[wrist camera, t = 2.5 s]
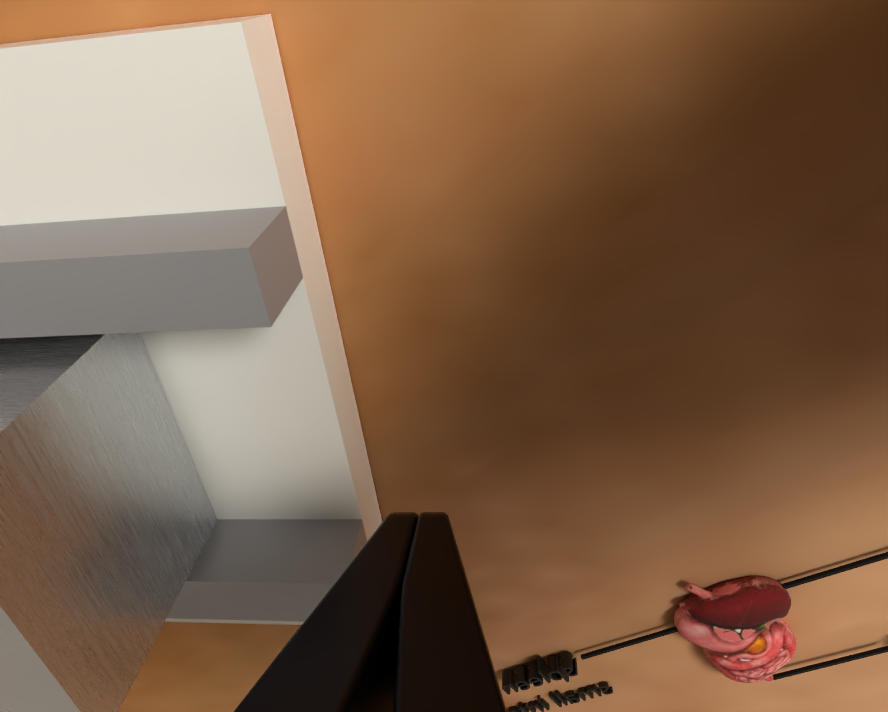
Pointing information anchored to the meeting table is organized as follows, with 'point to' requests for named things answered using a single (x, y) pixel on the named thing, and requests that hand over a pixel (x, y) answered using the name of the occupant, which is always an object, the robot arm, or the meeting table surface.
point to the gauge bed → (195, 285)
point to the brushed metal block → (88, 519)
